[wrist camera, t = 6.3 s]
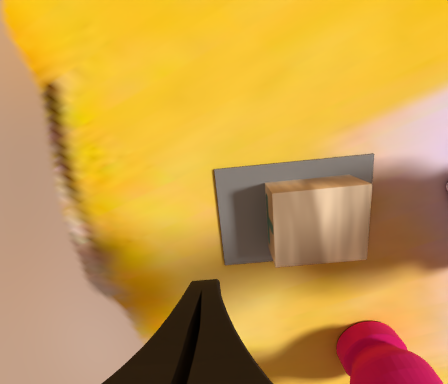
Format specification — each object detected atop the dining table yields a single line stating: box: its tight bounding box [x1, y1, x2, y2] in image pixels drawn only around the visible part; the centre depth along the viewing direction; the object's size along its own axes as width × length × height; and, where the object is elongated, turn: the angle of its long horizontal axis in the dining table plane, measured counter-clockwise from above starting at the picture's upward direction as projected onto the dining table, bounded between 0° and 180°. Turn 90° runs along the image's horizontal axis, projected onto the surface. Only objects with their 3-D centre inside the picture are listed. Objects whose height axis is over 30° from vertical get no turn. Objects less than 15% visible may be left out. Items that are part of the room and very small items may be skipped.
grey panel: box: [214, 154, 374, 265], centre depth 21 cm, size 13×9×1 cm
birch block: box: [265, 175, 372, 267], centre depth 19 cm, size 3×6×7 cm
